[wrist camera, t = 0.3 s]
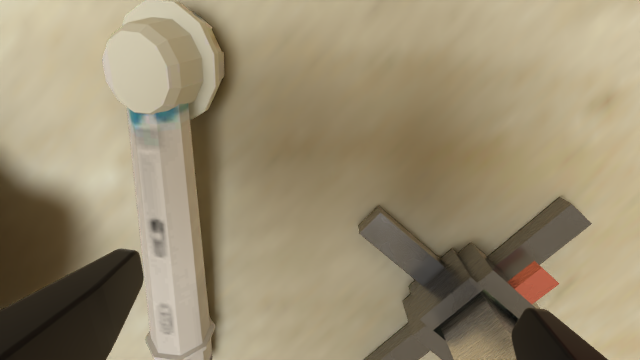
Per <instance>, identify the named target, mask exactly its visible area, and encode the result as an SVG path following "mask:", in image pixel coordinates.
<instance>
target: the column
mask: <svg viewBox="0 0 640 360" xmlns="http://www.w3.org/2000/svg"><path fill="white" fill-rule="evenodd" d="M515 324H516V322H515V320H514V319H513V318H512V316H511V315H510V313H509V312H508V311H507V308H506V307H505V306H503V305H502V304H501V303H500V302H499V301H498V300H496V299H495V298H494V297H493V296H492V295H491V294H489V293H488V292H487V291H486V290H485V289H484V290H482V291H481V292H480V293H479V294H477V295H476V296H475V297H474V298H472V299H471V300H470V301H469V302H467V303H466V304H465V305H464V306H462V307H461V308H460V309H459V310H458V311H456V312H455V313H454V314H453V315H451V316H450V317H449V318H448V319H446V320H445V321H444V322H443V323H441V324H440V327H441V329H442V332H443V334H444V337H445V339H446V341H447V344H448V346H449V349H450V351H451V354H452V356H453V359H454V360H516V356H515V352H514V348H513V344H512V338H511V334H512V329H513V328H514V326H515Z"/></svg>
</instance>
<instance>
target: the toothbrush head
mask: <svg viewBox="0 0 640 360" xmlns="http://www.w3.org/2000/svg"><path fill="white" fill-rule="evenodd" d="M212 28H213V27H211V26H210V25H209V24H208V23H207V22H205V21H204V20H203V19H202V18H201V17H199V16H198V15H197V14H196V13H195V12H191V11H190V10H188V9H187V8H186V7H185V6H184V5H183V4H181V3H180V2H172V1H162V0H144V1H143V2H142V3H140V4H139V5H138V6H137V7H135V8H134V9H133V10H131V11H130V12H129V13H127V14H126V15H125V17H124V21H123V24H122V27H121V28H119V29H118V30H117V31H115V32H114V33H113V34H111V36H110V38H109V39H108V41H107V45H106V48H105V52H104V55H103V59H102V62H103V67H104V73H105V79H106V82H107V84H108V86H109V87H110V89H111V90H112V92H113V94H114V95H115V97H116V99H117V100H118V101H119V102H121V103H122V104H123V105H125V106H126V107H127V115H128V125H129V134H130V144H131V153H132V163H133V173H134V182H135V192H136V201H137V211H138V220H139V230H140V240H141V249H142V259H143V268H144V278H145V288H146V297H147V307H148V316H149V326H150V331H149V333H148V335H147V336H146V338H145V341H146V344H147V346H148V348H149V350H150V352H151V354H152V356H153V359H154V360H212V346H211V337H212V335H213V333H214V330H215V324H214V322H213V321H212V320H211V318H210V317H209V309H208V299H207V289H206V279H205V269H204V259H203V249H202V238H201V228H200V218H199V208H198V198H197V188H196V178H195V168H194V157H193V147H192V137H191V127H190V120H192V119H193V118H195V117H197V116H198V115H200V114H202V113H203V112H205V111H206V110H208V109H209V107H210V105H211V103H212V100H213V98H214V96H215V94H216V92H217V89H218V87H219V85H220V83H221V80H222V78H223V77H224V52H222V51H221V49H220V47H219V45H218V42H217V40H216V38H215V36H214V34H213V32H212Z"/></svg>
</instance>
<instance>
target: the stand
mask: <svg viewBox="0 0 640 360" xmlns="http://www.w3.org/2000/svg"><path fill="white" fill-rule="evenodd" d="M590 225H591V223H590V222H589V221H588V220H587V219H586V218H585V217H584V216H583V215H582V214H581V213H580V212H579V211H578V210H577V209H576V208H575V207H574V206H573V205H572V204H571V203H569V202H567V201H565V200H564V199H562V198H560V197H559V198H558V199H557V200H556V201H554V202H553V203H552V204H551V205H550V206H548V207H547V208H546V209H545V210H544V211H542V212H541V213H540V214H539V215H538V216H536V217H535V218H534V219H533V220H532V221H530V222H529V223H528V224H527V225H526V226H524V227H523V228H522V229H521V230H520V231H518V232H517V233H516V234H515V235H514V236H512V237H511V238H510V239H509V240H507V241H506V242H505V243H504V244H503V245H501V246H500V247H499V248H498V249H497V250H495V251H494V252H493V253H492V254H491V255H489V256H488V257H487V256H486V255H485V254H484V253H483V252H481V251H480V250H479V249H478V248H477V247H476V246H475V245H474V244H472V243H470V244H468V245H467V246H466V247H465V248H464V249H463V250H462V251H460V252H459V253H457V252H455V251H454V250H453V249H451V250H450V251H448V252H447V253H446V254H445V255H444V256H443V257H442V258H439V257H438V256H436V255H435V254H434V253H433V252H432V251H431V250H429V249H428V248H427V247H426V246H425V245H424V244H422V243H421V242H420V241H419V240H418V239H417V238H416V237H414V236H413V235H412V234H411V233H410V232H409V231H407V230H406V229H405V228H404V227H403V226H402V225H400V224H399V223H398V222H397V221H396V220H395V219H393V218H392V217H391V216H390V215H389V214H388V213H386V212H385V211H384V210H383V209H382V208H381V207H379V206H378V207H377V208H376V209H375V210H374V211H373V212H372V213H371V214H370V215H369V216H368V217H367V218H366V219H365V220H364V221H362V222H361V223H360V224H359V225H358V227H359V234H361V235H362V236H363V237H364V238H365V239H367V240H368V241H369V242H370V243H371V244H373V245H374V246H375V247H376V248H377V249H379V250H380V251H381V252H382V253H383V254H385V255H386V256H387V257H388V258H390V259H391V260H392V261H393V262H394V263H396V264H397V265H398V266H399V267H400V268H402V269H403V270H404V271H405V272H406V273H408V274H409V275H410V276H411V277H412V278H414V279H415V281H414V282H413V283H412V284H411V285H409V289H410V292H411V294H410V295H409V296H408V297H407V298H406V299H405V300H403V304H404V308H405V311H406V315H407V319H408V322H409V323H408V324H406V325H405V326H404V327H403V328H402V329H400V330H399V331H398V332H397V333H396V334H394V335H393V336H392V337H391V338H390V339H388V340H387V341H386V342H385V343H384V344H382V345H381V346H380V347H379V348H378V349H376V350H375V351H374V352H373V353H372V354H370V355H369V356H368V357H367V358H366V359H364V360H419V359H420V358H421V357H423V356H424V355H425V354H426V353H428V352H429V351H430V350H431V351H432V352H433V353H434V354H436V355H437V356H438V357H440V358H441V359H442V360H454V359H453V356H452V354H451V351H450V349H449V346H448V344H447V341H446V339H445V337H444V334H443V332H442V329H441V327H440V324H441V323H443V322H444V321H445V320H446V319H448V318H449V317H450V316H451V315H453V314H454V313H455V312H456V311H458V310H459V309H460V308H461V307H462V306H464V305H465V304H466V303H467V302H469V301H470V300H471V299H472V298H474V297H475V296H476V295H477V294H479V293H480V292H481V291H482V290H484V289H485V290H486V291H487V292H488V293H489V294H491V295H492V296H493V297H494V298H495V299H496V300H498V301H499V302H500V303H501V304H502V305H503V306H505V307H506V308H507V311H508V312H509V313H510V315H511V316H512V318H513V319H514V320H515V322H516V323H517V321H518V319H519V318H520V316H521V315H522V313H523V311H524V310H525V309H527V308H530V307H531V308H538V309H540V308H539V307H538V305H537V304H536V303H535V302H536V301H537V300H538V299H540V298H541V297H542V296H544V295H545V294H546V293H548V292H549V291H550V290H552V289H553V288H554V287H556V286H557V285H558V284H559V283H558V282H557V281H556V280H555V279H554V278H553V277H552V276H551V275H549V274H548V273H547V272H546V271H545V270H544V269H543V268H542V267H541V266H540V264H541V263H542V262H544V261H545V260H546V259H548V258H549V257H550V256H551V255H553V254H554V253H555V252H557V251H558V250H559V249H560V248H562V247H563V246H564V245H565V244H567V243H568V242H569V241H571V240H572V239H573V238H574V237H576V236H577V235H578V234H579V233H581V232H582V231H583V230H585V229H586V228H587V227H588V226H590Z"/></svg>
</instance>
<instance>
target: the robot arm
mask: <svg viewBox="0 0 640 360" xmlns="http://www.w3.org/2000/svg"><path fill="white" fill-rule="evenodd" d="M143 278H144V277H143V270H142V265H141V259H140V255H139V253H138V252H137V251H135V250H128V249H117V250H115V251H113V252H111V253H109V254H107V255H105V256H103V257H101V258H100V259H98V260H96V261H94V262H92V263H90V264H88V265H86V266H84V267H82V268H80V269H79V270H77V271H75V272H73V273H71V274H69V275H67V276H65V277H63V278H61V279H59V280H57V281H56V282H54V283H52V284H50V285H48V286H46V287H44V288H42V289H40V290H38V291H36V292H34V293H33V294H31V295H29V296H27V297H25V298H23V299H21V300H19V301H17V302H15V303H13V304H12V305H10V306H8V307H6V308H4V309H2V310H0V360H106V359H107V357H108V355H109V353H110V352H111V350H112V348H113V346H114V344H115V342H116V340H117V338H118V336H119V333H120V331H121V329H122V327H123V325H124V323H125V321H126V319H127V317H128V314H129V312H130V310H131V308H132V306H133V304H134V302H135V300H136V298H137V295H138V293H139V291H140V289H141V287H142V284H143ZM511 338H512V344H513V348H514V352H515V356H516V360H608V359H607V358H605V357H604V356H603V355H602V354H600V353H599V352H598V351H597V350H596V349H594V348H593V347H592V346H591V345H589V344H588V343H587V342H586V341H585V340H583V339H582V338H581V337H580V336H579V335H577V334H576V333H575V332H574V331H572V330H571V329H570V328H569V327H568V326H566V325H565V324H564V323H563V322H561V321H560V320H559V319H558V318H557V317H555V316H554V315H553V314H552V313H550V312H549V311H547V310H545V309H538V308H531V307H530V308H527V309H525V310H524V311H523V313H522V315H521V316H520V318H519V319H518V321H517V323H516V324H515V326H514V328H513V329H512V334H511Z"/></svg>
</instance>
